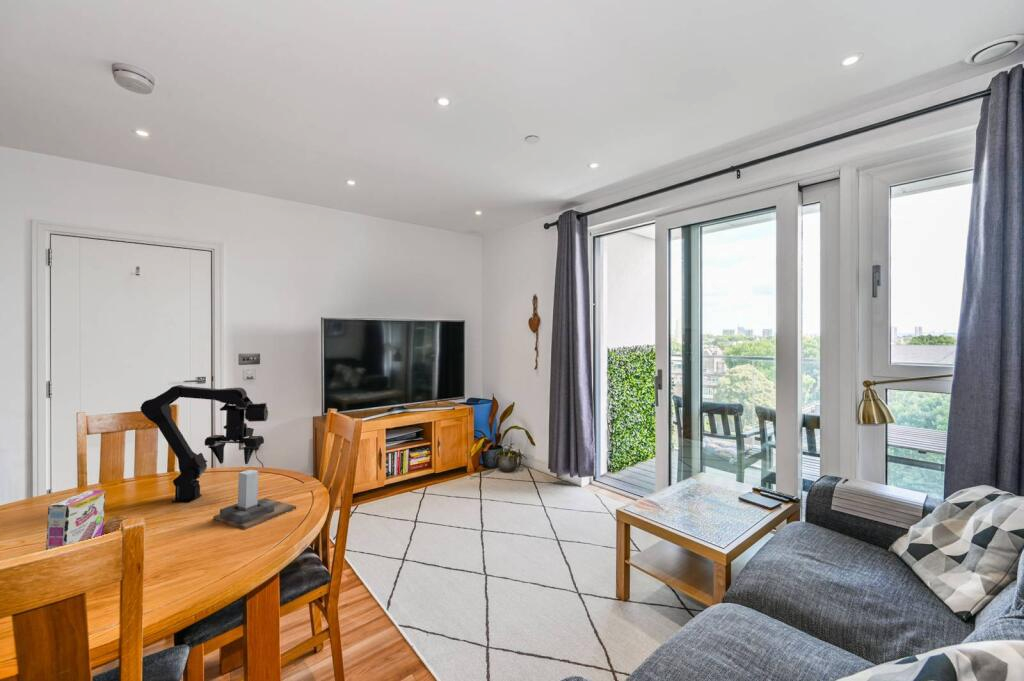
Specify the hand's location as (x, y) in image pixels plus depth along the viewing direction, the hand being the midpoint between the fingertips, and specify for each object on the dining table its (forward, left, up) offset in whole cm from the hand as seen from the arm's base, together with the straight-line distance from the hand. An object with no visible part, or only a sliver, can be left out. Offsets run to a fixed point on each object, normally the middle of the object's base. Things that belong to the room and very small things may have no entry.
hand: (234, 463), depth 158 cm
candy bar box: (-12, -46, -12) cm, 49 cm away
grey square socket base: (+17, -15, -12) cm, 26 cm away
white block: (+16, -18, -11) cm, 26 cm away
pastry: (-16, -30, -12) cm, 36 cm away
